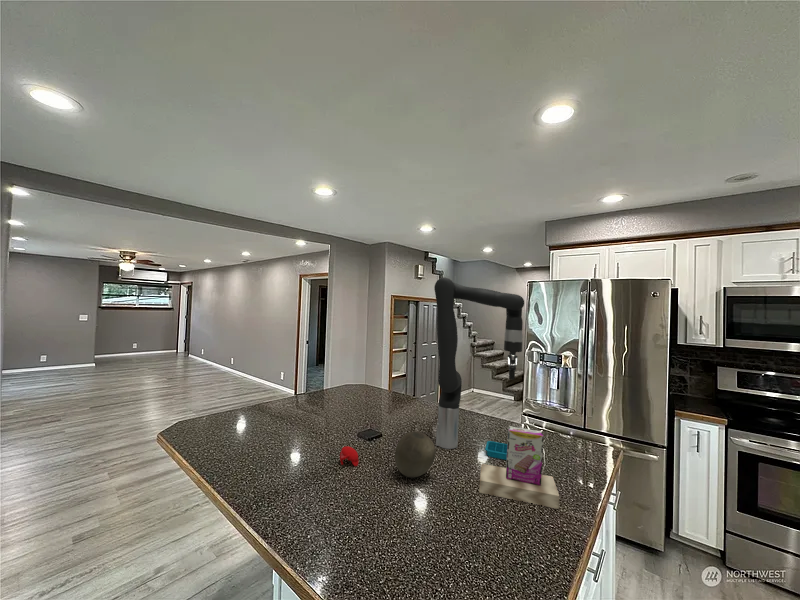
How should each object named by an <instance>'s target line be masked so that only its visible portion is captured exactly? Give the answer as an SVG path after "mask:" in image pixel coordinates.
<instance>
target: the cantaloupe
mask: <svg viewBox="0 0 800 600" xmlns="http://www.w3.org/2000/svg"><path fill="white" fill-rule="evenodd" d="M436 453H437V452H436V446H435V444H434V442H433V440H432V439H431V438H430V437H429V436H428V435H427V434H425V433H423V432H421V431H417V430H415V431H409V432H407V433H405V434H404V435H403V436H402V437H401V438H400V439H399V440H398V442H397V445H396V447H395V450H394V461H395V465H396V468H397V470H398V471H399V472H400V473H401V474H402V475H403V476H405V477H407V478H413V479H414V478H418V477H421V476H423V475H424V474H425V473H427V472H428V471H429V470H430V469H431V468H432V465H433V464H434V461H435V458H436Z"/></svg>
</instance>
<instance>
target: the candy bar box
mask: <svg viewBox="0 0 800 600" xmlns="http://www.w3.org/2000/svg"><path fill="white" fill-rule="evenodd" d="M507 444H508V445H507V460H506V465H505V468H506V479H511V480H516V481H521V482H526V483H530V484H535V485H540V486H541V477H542V475H543V474H542V473H543V453H544V434H543V431H541V430H536V429H529V428H523V427H517V426H511V425H508V427H507Z"/></svg>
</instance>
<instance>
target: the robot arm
mask: <svg viewBox="0 0 800 600" xmlns="http://www.w3.org/2000/svg"><path fill="white" fill-rule="evenodd" d="M434 294H435V300H436V311H437V312H436V341H437V350H438V351H437V352H438V363H439V364H438V379H437V383H438V385H439V387H440V391H441V392H440V396H439V399H438V410H437V411H438V413H437V415H438V416H437V423H436V431H435V434H436V436H435V446H436V447H437V446H438V447H440V448H443V449H446V450H449V449H450V450H451V449H453V450H454V449H456V448H458V442H459V441H458V439H459V438H458V437H459V422H460V421H459V419H460V402H461V398H462V380H463V379H462V376H461V374H460V373H459V371H457V368H456V366H457V365H456V357H457V350H458V342H459V341H458V339H459V338H458V326H457V319H456V315H455V310H454V309H455V308H454V300H455V299H456V300H457V299H458V300H464V301H469V302H473V303H476V304H481V305H484V306H489V307H496V308H502V309H505V310H506V311H505V312H506V315H505V316H506V320H505V330H504V339H503V341H504V342H503V345H504V346H503V350H504V351H505V352H509V354H507V363H508V364H507V365H508V379H509V380H512V381H513V380H515V378H516V369H517V368H516V367H517V366H518V363H517V362H518V355H516V353H522V352H523V341H524V340H523V338H524V336H523V335H524V334H523V327H524V326H523V324H524V322H523V317H522V316H523V308H524V307H525V299H524V298H523V297H522V296H521V295H519V294H516V293H509V292H500V291H498V290H494V289H493V290H492V289H487V288H480V287H471V286H466V285H462V284H458V283H455V282H454V281H453V280H451V279H450V278H448V277H444V276H443V277H440V278H438V279H437V280H436V281H435V283H434Z"/></svg>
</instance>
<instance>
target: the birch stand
mask: <svg viewBox="0 0 800 600" xmlns="http://www.w3.org/2000/svg"><path fill="white" fill-rule="evenodd" d="M480 468H481V469H480V475H479V485H478V486H479V489H478V491H479V492H478V493H479V494H483V495H488V494H489V495H488V496H493V495H494V497H499V498H503V499H509V500H512V499H513V501H517V502H522V501H523V502H522V503H527V502H528V503H527V504H531V503H533V505H536V504H537V505H538V506H541V505H542V507H545V508H552V509H556V510H560V494H559V491H558V488H557V485H556V483H555V480H554V477H553V476H551V475H544V474H542V477H541V486H540V485H535V484H530V483H526V482H521V481H516V480H511V479H506V467H503V466H502V467H501V466H496V465H491V464H486V463H485V464H484V463H481V465H480ZM537 505H536V506H537Z"/></svg>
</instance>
